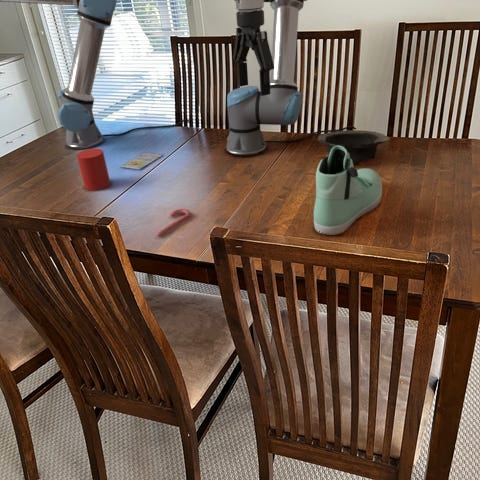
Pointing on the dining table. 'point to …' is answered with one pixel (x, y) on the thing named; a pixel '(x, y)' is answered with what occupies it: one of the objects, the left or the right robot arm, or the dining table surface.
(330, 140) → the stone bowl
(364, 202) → the sneaker
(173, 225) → the candy cane
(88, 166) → the can
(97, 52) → the left robot arm
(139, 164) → the baking ingredient package
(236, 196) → the dining table surface
